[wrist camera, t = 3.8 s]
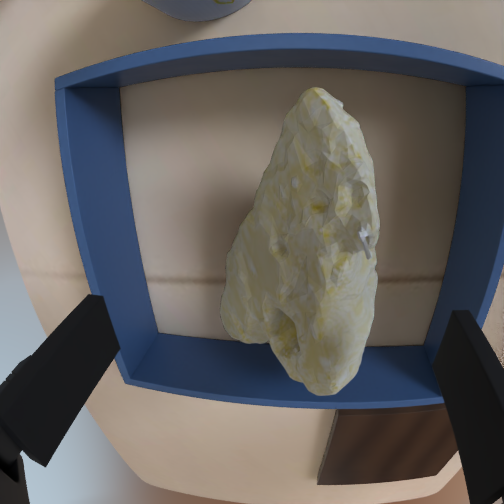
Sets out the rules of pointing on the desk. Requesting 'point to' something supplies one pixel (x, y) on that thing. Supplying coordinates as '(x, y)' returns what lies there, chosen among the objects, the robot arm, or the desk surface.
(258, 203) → the pale grey rough stone
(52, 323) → the desk surface
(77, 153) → the blue rectangular frame
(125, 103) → the desk surface
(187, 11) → the white cylinder
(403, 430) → the board
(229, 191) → the desk surface
